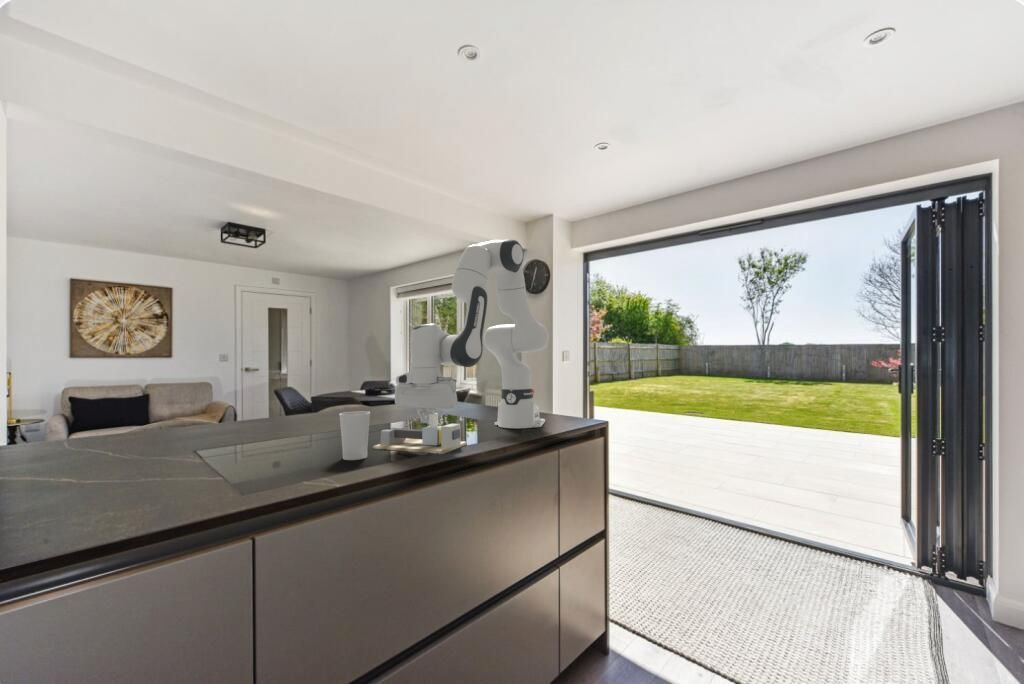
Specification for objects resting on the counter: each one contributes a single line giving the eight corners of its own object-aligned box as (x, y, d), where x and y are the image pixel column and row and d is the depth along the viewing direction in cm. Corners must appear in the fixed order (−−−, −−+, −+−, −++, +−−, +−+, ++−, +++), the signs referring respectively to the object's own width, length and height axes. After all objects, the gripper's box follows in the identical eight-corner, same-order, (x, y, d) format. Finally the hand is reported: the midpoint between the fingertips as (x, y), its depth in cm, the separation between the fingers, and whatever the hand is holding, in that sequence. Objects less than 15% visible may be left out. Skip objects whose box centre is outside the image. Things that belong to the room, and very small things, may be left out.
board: (373, 448, 132) (373, 445, 132) (401, 439, 145) (401, 437, 145) (443, 454, 123) (443, 451, 123) (467, 444, 136) (466, 441, 136)
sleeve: (422, 444, 131) (422, 414, 132) (431, 441, 136) (430, 412, 136) (437, 445, 129) (436, 415, 130) (445, 442, 134) (445, 412, 134)
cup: (375, 454, 125) (374, 411, 125) (362, 460, 117) (362, 415, 117) (347, 454, 125) (347, 411, 126) (333, 460, 117) (333, 415, 118)
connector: (441, 447, 128) (441, 426, 128) (451, 443, 134) (451, 423, 134) (451, 448, 127) (451, 427, 127) (462, 444, 132) (461, 424, 133)
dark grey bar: (388, 439, 137) (388, 427, 137) (395, 437, 140) (395, 425, 140) (444, 443, 129) (444, 430, 129) (451, 441, 133) (451, 428, 133)
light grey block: (380, 444, 135) (380, 430, 135) (397, 439, 143) (397, 426, 143) (388, 444, 134) (388, 431, 134) (405, 439, 141) (405, 427, 142)
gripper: (460, 376, 133) (461, 422, 133) (404, 376, 141) (404, 420, 141) (450, 377, 127) (450, 426, 127) (391, 377, 135) (391, 423, 135)
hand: (426, 423), depth 134 cm, fingers closed
